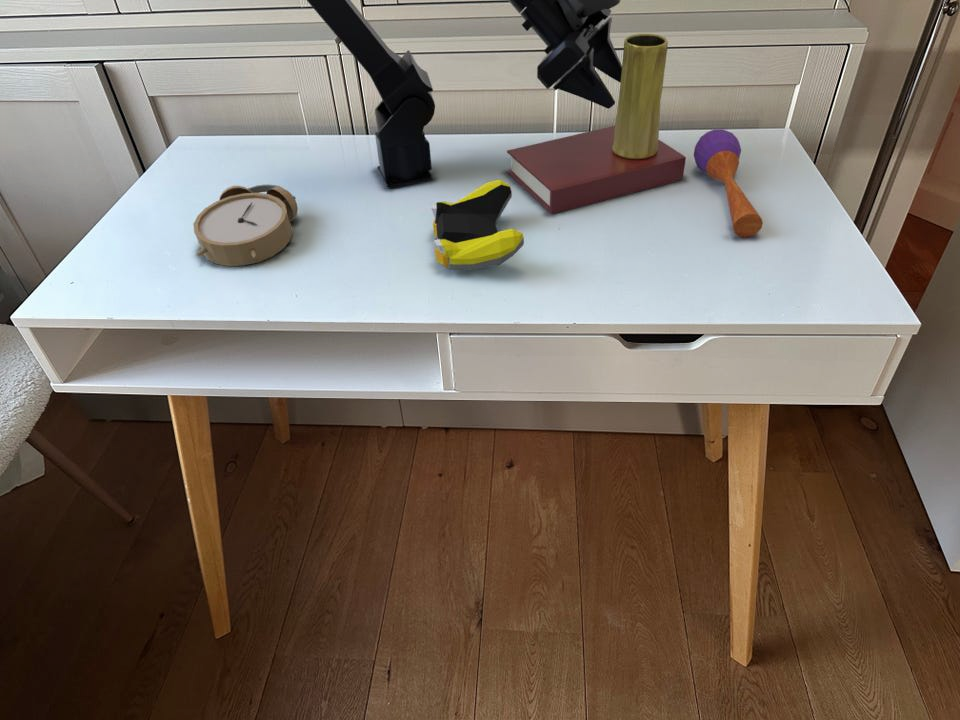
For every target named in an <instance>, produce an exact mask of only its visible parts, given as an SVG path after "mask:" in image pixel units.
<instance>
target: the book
mask: <svg viewBox="0 0 960 720" xmlns="http://www.w3.org/2000/svg"><path fill="white" fill-rule="evenodd" d="M614 132H615V125H612V126H607V127H603V128H599V129H595V130H594V129H593V130H590V131H586V132H581V133H577V134H573V135H568V136H565V137H560V138H556V139H550V140H546V141H542V142H537V143H533V144H529V145H525V146H519V147H516V148H511V149H507V150H506V153H507V154H508V155H509V156H510V159H511V160H510V161H511V166H510V167H511V169H509V170H507V174H508V175H509V176H510V177H511V178H512V179H514V180H515V182H516V183H518V184H519V185H520V187H522V188H523V190H525V191H526V192H527V193H528V194H529V195H531V196H532V198H534V199H535V201H537V202H538V203H539V204H540V205H541V206H542V207H543V208H544V209H545V210H546V211H547V212H549V214H550V215H554V214H558V213H561V212H566V211H568V210H573V209H576V208H580V207H584V206H588V205H592V204H596V203H599V202H604V201H607V200H611V199H615V198H619V197H622V196H626V195H630V194H633V193H638V192H642V191H646V190H649V189H653V188H656V187H660V186H665V185H668V184H672V183H676V182H679V181H683V179H684V172H685V166H686V160H687V157H686V156H685V155H684V154H682V153H681V152H679V151H677V150H676V149H674V148H673V147H671V146H670V145H668V144H667V143H665V142H663V141H662V140H660V139H659V138H658V151H657V153H656V154H655V155H654V156H652V157H649V158H646V159H627V158H623V157H620V156H618V155H616V154H615V153H614V152H613V150H612V146H613V142H614Z"/></svg>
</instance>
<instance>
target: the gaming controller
mask: <svg viewBox="0 0 960 720" xmlns="http://www.w3.org/2000/svg"><path fill="white" fill-rule="evenodd" d="M512 191H513V190H512V188H511V185H510V184H509V183H508V182H506V181H504V180H502V179H497V180H496V179H495V180H491V181H488V182H486V183H484V184H483V185H481V186H480V187H478V188H476V189H475V190H473V191H472V192H470V193H469V194H466V196H464V197H462V198H461V199H459V200H457V201H455V202H447V201H437V202H436V203H432V204H431V205H430V209H431V211H432V214H433V217H434V220H433V223H432V229H433V236H434V237H436V238H437V239H434V240H433V242H434V244H435V248H434V252H435V260H436V262H437V263H438V264H439V265H442V266H444V267H445V268H446V269H447V270H453V271H454V270H456V271H467V270H477V269H478V270H479V269H483V268H489V267H495V266H500V265H502V264H503V263H504V262H506V261H509V259H511V258H512V257H514V255H516V253H518V251H520V249H521V248H522V247H523V246H524V244H525V237H524V234H523V232H522V231H519V230H517V229H514V228H509V229H505V230H504V229H503V230H501V231H498V229H497V224H498V222H499V219H500V217H501V216H502V214H503V212H504V211H505V209H506V207H507V205H508V204H509V202H510V200H511V199H512V196H513V192H512Z"/></svg>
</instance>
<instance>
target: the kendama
mask: <svg viewBox="0 0 960 720" xmlns="http://www.w3.org/2000/svg"><path fill="white" fill-rule="evenodd" d="M741 152H742V148H741V143H740V141H739V139H738V138H737V136H736V135H735V134H734V133H733V132H730V131H728V130H725V129H721V128H719V129H711V130H709V131H707V132H705V133H704V134H703V135H702V136H700V137H699V139H698V141H697V142H696V144H695V147H694V151H693V158H694V161H695V162H694V163H695V164H696V167H697V168H698V169H699V170H700V171H701V172H702V173H704V174H706V175H708V176H709V177H710V178H711V179H714V180H717V181H720V182H722V183H724V187H725V193H726V198H727V203H728V208H729V214H730V220H731V225H732V230H733V233H734V234H735V235H736V236H737V237H740V238H745V239H746V238H750V237H753V236H756V235H757V234H758V233H759V232H760V231H761V230H762V227H763V224H764V223H763V219H762V217H761V215H759V212H758V211H757V210H756V209H755V207H754V206H753V204H752V203H751V201H750V200H749V198H748V197H747V196H746V194H745V193H744V191H743V190H742V188H741V187H740V185H738V183H737V182H736V180H735V176H736V173H737V170H738V168H739V164H740V156H741Z"/></svg>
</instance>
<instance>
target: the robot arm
mask: <svg viewBox="0 0 960 720" xmlns="http://www.w3.org/2000/svg"><path fill="white" fill-rule="evenodd" d="M507 1H508V2H509V3H510V4H511V6H512V7H513V8H514V9H515V10H516V11H517V13H518V14H519V15H520V16H521V17H522V18H523V20H524V21H523V22H522V24H521V26H522V27H523V29H524V30H525V31H526V32H528V31H529V30H530V29H532V30H533V31H534V33H536V35H537V36H538V37H539V38H540V40H542V42H543V43H544V44H545V45H546V47H545V48H544V50H543V51H544V53H545V56H544V57H543V58H542V60H541V61H540V63H538V65H537V67H536V68H537V69H536V71H537V72H536V78H537V79H538V81H540V83H541V84H542V85H543V86H544V87H545V88H546V90H548V89H550V88H552V89H553V90H554V91H557V90H560V91H562V92H566V93H568V94H571V95H573V96H575V97H579V98H582V99H584V100H587V101H589V102H591V103H594V104H595V105H598V106H601V107H603V108H606V109H608V110H609V109H611V108H612V107H613V106H615V104H616V100H615V99H614V97H613V95H612V94H611V92H610V90H609V89H608V87H607V85H606V84H605V83H604V81H603V79H602V78H601V77H600V74H598V72H597V70H598V71H600V72H602V73H603V74H605V75H606V76H608V77H609V78H611V79H613V80H614V81H616V82H618V83H619V84H620V83H621V75H622V65H623V63H622V62H621V60H620V57H619V56H618V54H617V52H616V49H615V46H614V44H613V42H612V39H611V26H612V21H613V18H612V16H610V14H611V13H612V10H611V9H612V8H615V6H618V5H619V4H620V3H621V0H507ZM306 2H308V4H309V5H310V6H311V7H312V9H313V10H314V11H315V12H316V13H317V15H318V16H319V17H320V18H321V19H322V20H323V21H324V23H325V24H326V25H327V26H328V27H329V29H330V30H331V31H332V32H333V34H334V35H335V36H336V37H337V38H338V39H339V41H340V42H341V43H342V44H343V45H344V47H345V48H346V49H347V50H348V51H349V52H350V54H351V55H352V56H353V57H354V58H355V60H356V61H357V62H358V63H359V64H360V65H361V67H362V68H363V69H364V70H365V72H366V73H367V74H368V76H369V77H370V79H371V80H372V82H373V84H374V86H375V89H376V90H377V93H378V94H379V96H380V98H381V101H380V102H379V103H378V105H377V106H376V107H375V109H374V115H375V122H376V127H377V131H375V132H374V136H375V143H376V151H377V157H378V164H379V165H377V172H378V174H379V176H380V177H381V179H382V181H383V183H384V184H385V187H386V188H387V189H392V188H397V187H402V186H408V185H411V184H418V183H422V182H427V181H431V180H433V175H432V174H431V170H432V169H433V167H432V158H431V157H432V155H431V146H430V142H429V140H428V139H427V137H426V134H425V131H424V128H425V127H427V125H428V124H429V123H430V122H431V121H432V119H433V117H434V115H435V111H436V110H435V109H436V104H435V100H434V97H433V93H432V92H434V88H433V86H432V82H431V79H430V76H429V74H428V71H426V70H424V69H422V67H420V66H419V65H418V63H417V62H416V59H415V58H414V55H412V52H411V50H406V52H405V53H404V54H403V56H402V57H401V55H399V54H398V53H396V52H394V51H393V50H392V49H390V47H389V46H387V44H386V42H385V41H384V39H382V38H381V36H379V34H378V32H376V31H375V28H374V27H373V26H372V25H371V24H370V23H369V21H368V20H367V19H366V18H365V16H364V15H363V14H362V13H361V12H360V10H359V9H358V8H357V6H356V5H355V4H354V3H353V1H352V0H306ZM603 20H605V22H604V23H602V21H603ZM596 69H597V70H596Z"/></svg>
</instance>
